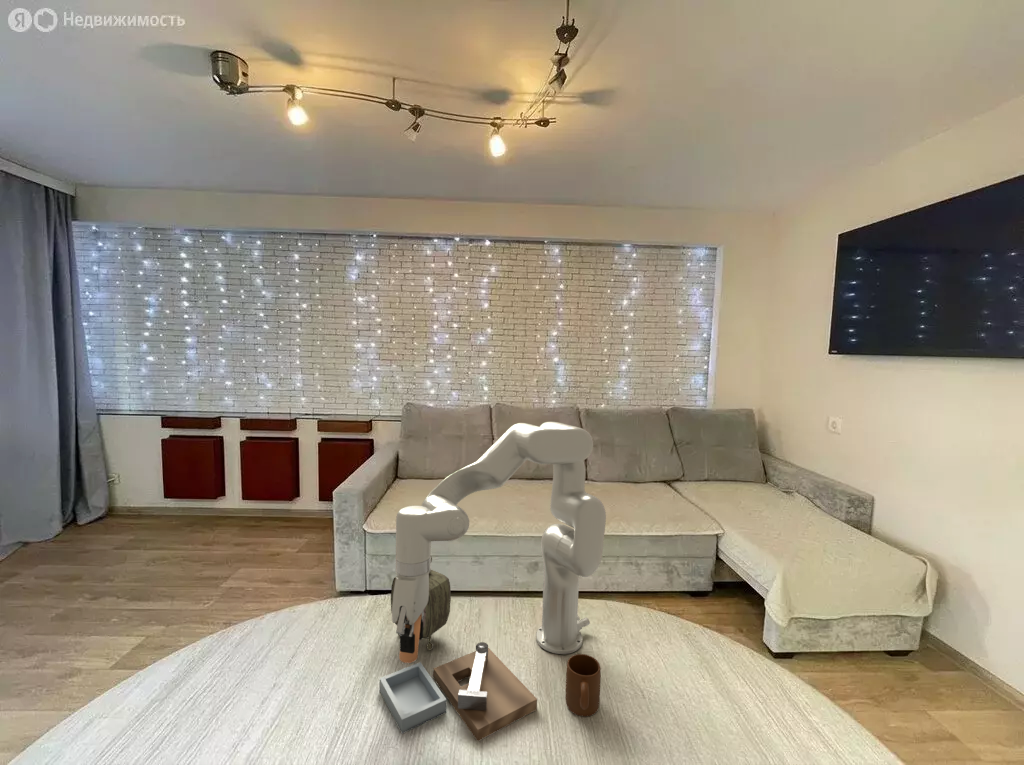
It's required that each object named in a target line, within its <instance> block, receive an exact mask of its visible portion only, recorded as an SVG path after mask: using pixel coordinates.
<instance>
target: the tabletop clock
mask: <svg viewBox="0 0 1024 765" xmlns="http://www.w3.org/2000/svg"><path fill="white" fill-rule="evenodd" d="M432 562H433V557H432V556H431V563H432ZM395 580H396V576H395V577H393V580H392V582H391V590H390V591H391V592H390V607H391V609H390V610H391V613H392V607H393V594H394V586H395ZM451 591H452V590H451V582H450V579H449V577H447V576H446V575H444V574H443V573H440V572H438V571H436V570H434V569H431V570H430V572H429V598H428V603H427V605H426V607H425V608H424V619H423V621H422V622H423V638H422V639H428V643H427V644H426V649H427V650H429V651H430V650H433V647H434V645H433V643H432V635H434V634H435V633H436V632H437V631H439V630H440V629H441V628H442V627H444V626H445V625H447V623H448V620H449V616H450V612H451V604H452V603H451V601H452V600H451V599H452V597H451V596H452V595H451ZM398 621H399V619H398ZM398 621H397V622H396V623H394V624H395V625H396V626H397V625H398ZM396 634H397V635H398V636H399V637H400V635H399V633H396Z"/></svg>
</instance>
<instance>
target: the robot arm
mask: <svg viewBox="0 0 1024 765" xmlns="http://www.w3.org/2000/svg"><path fill="white" fill-rule="evenodd" d="M591 435H592V434H590V432H589V431H587V430H586V429H585V428H582V427H579V426H574V425H571V424H567V423H563V422H558V421H545V422H543V423H541V424H540V425H539V426H538V425H534V424H531V423H527V422H518V423H514V424H513V425H511V426H510V427H509V428H508V429H506V431H505V432H504V433H503V434H502V435H501V436H500V437H499V438H498V439H496V441H495V442H494V443H493V444H492V445H491V446H490V447H489V448H488V449H487V450H486V451H485V452H484V453H483V454H482V455H481V456H480V457H479V458H478V459H477V460H476V461H473V463H470V464H467V465H466V466H464V467H462V468H460V469H458V470H456V471H454V472H453V473H451V474H449V475H448V476H446V477H445V478H444V479H442V481H440V483H438V485H437V486H435V487H434V488H433V489H432V490H431V491H430V492H429V493H428V495H427V496H426V497H425V498H424V500H423V501H422V503H421V505H407V506H405V507H402V508H400V509H399V510H398V512H397V513H396V519H395V564H394V565H395V575H396V576H395V577H396V580H395V586H394V594H393V607H392V612H391V622H392V623H393V624H395V623H396V622H397V621H398V619H399V621H398V625H396V631H395V633H396V634H397V633H399V635H400V636H399V635H398V636H399V652H400V651H401V652H406V653H412V654H413V653H414V651H415V634H413V633H414V623H415V622H416V620H417V619H418V617H419V616H421V624H420V635H419V641H422V640H423V639H424V638H423V622H422V621H423V619H424V608H425V607H426V605H427V603H428V598H429V572H430V570H432V568H431V566H432V562H431V557H432V542H450V541H455V540H459V539H461V538H462V537H464V535H466V533H467V532H468V530H469V528H470V518H469V514H467V512H466V511H465V510H464V509H463V508H462V507H460V506H458V504H459V503H460V502H461V501H462V500H464V498H466V497H468V496H469V495H472V494H473V493H476V492H480V491H489V490H494V489H498V488H501V487H503V486H504V485H505V484H506V483H507V482H508V481H509V479H510V478H512V476H513V475H514V474H515V473H516V472H517V471H518V469H520V468H521V466H522V465H524V464H525V463H526V462H527V461H528V462H532V463H533V464H538V465H552V468H553V469H552V470H553V473H552V476H553V477H552V486H551V495H550V509H549V510H550V513H551V515H552V516H553V517H554V518H555V519H556V520H558V521H559V522H562V523H563V524H561V523H554V524H551V525H549V526H547V528H546V529H545V530H544V531H543V533H542V536H541V540H540V551H541V556H542V562H543V564H542V565H543V587H542V613H541V614H542V615H541V617H542V619H541V626H540V627H538V628H537V630H536V634H535V637H536V638H535V639H536V643H537V644H538V646H540V648H542V649H544V650H545V651H547V652H550V653H553V654H557V655H569V654H572V653H575V652H576V651H578V650H579V649H580V648H581V647H582V645H583V635H582V633H581V632H580V631H581V630H582V628H584V627H587V626H590V624H591V623H590V619H589V618H588V617H584V618H582V619H581V618H580V615H578V611H579V609H578V608H579V587H580V577H581V578H587V577H590V576H593V575H594V574H595V573H596V572H597V570H598V569H599V567H600V565H601V561H602V557H603V549H604V541H605V531H606V524H607V523H606V521H607V514H606V513H607V512H606V508H605V506H604V503H603V502H602V500H600V499H599V498H598V497H597V496H595V495H593V494H590V493H588V492H586V490H585V487H586V486H585V485H586V465H585V460H586V459H587V458H589V457H590V456H591V454H592V452H593V449H594V439H593V436H591ZM406 618H407V619H406ZM405 624H408V625H410V629H409V628H405Z"/></svg>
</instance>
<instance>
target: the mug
mask: <svg viewBox="0 0 1024 765" xmlns="http://www.w3.org/2000/svg"><path fill="white" fill-rule="evenodd" d="M566 662H567V663H566V670H565V694H564V695H565V705H566V706H567V708H568V710H569V711H570V712H571V713H573V714H574V715H576V716H580V717H591V716H593V715H596V713H597V712H598V711H599V708H600V703H601V702H600V701H601V684H602V683H601V680H602V677H601V676H602V674H601V672H602V671H601V669H602V668H601V665H600V664H601V663H600V662H599V661H598V660H597V659H596V658H595V657H593V656H591V655H589V654H584V653H579V654H578V653H577V654H574V655H572V656H570V657H569V658H568V659H567V661H566Z"/></svg>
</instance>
